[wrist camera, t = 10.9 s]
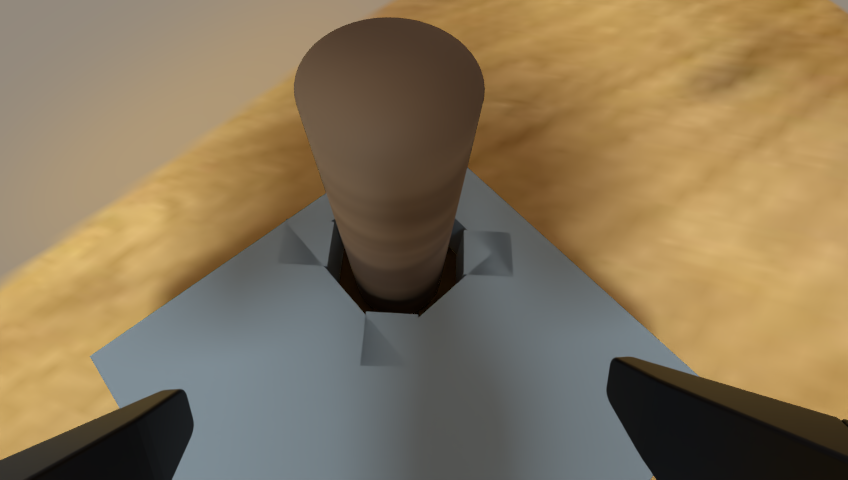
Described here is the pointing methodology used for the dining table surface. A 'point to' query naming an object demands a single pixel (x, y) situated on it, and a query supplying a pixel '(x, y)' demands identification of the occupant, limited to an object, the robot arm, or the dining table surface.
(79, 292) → the dining table surface
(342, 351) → the plate
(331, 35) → the peg
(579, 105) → the dining table surface
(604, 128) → the dining table surface
